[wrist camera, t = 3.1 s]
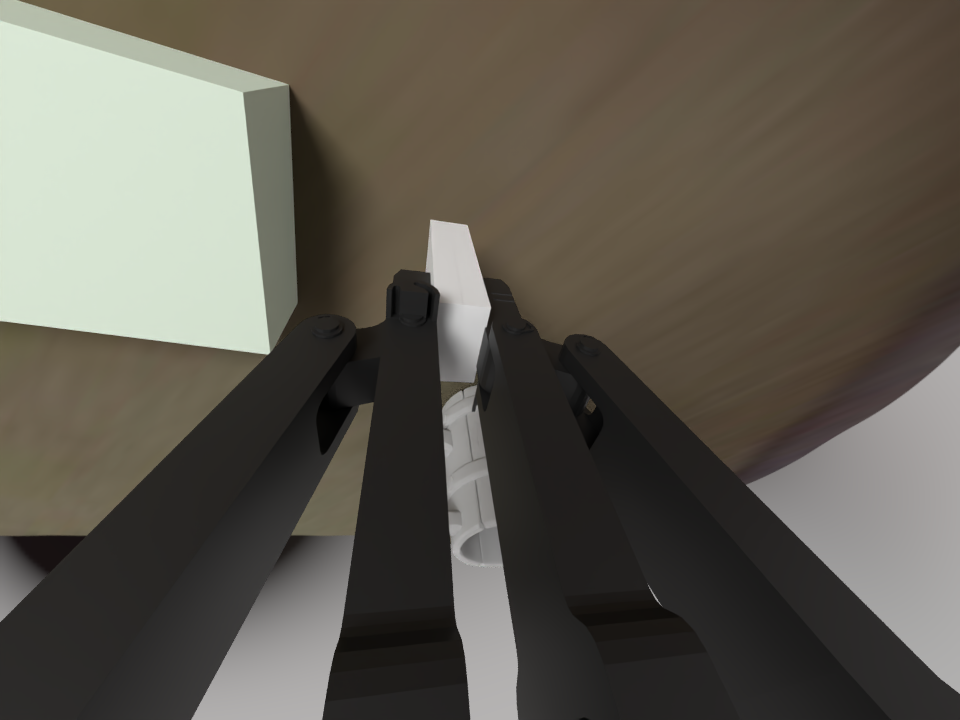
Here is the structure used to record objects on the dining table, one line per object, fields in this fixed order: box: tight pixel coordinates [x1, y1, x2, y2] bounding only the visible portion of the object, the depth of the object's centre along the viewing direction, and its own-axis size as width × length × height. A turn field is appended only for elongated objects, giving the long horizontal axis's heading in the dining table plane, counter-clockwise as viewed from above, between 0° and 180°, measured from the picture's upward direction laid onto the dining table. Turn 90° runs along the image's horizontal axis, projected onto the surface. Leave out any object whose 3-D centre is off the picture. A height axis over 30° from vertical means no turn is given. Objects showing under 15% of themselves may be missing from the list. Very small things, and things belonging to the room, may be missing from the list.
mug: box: [442, 386, 503, 567], centre depth 22 cm, size 8×12×12 cm, turn 62°
